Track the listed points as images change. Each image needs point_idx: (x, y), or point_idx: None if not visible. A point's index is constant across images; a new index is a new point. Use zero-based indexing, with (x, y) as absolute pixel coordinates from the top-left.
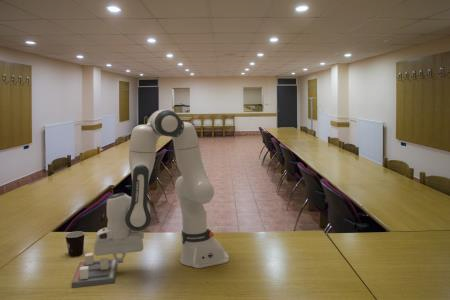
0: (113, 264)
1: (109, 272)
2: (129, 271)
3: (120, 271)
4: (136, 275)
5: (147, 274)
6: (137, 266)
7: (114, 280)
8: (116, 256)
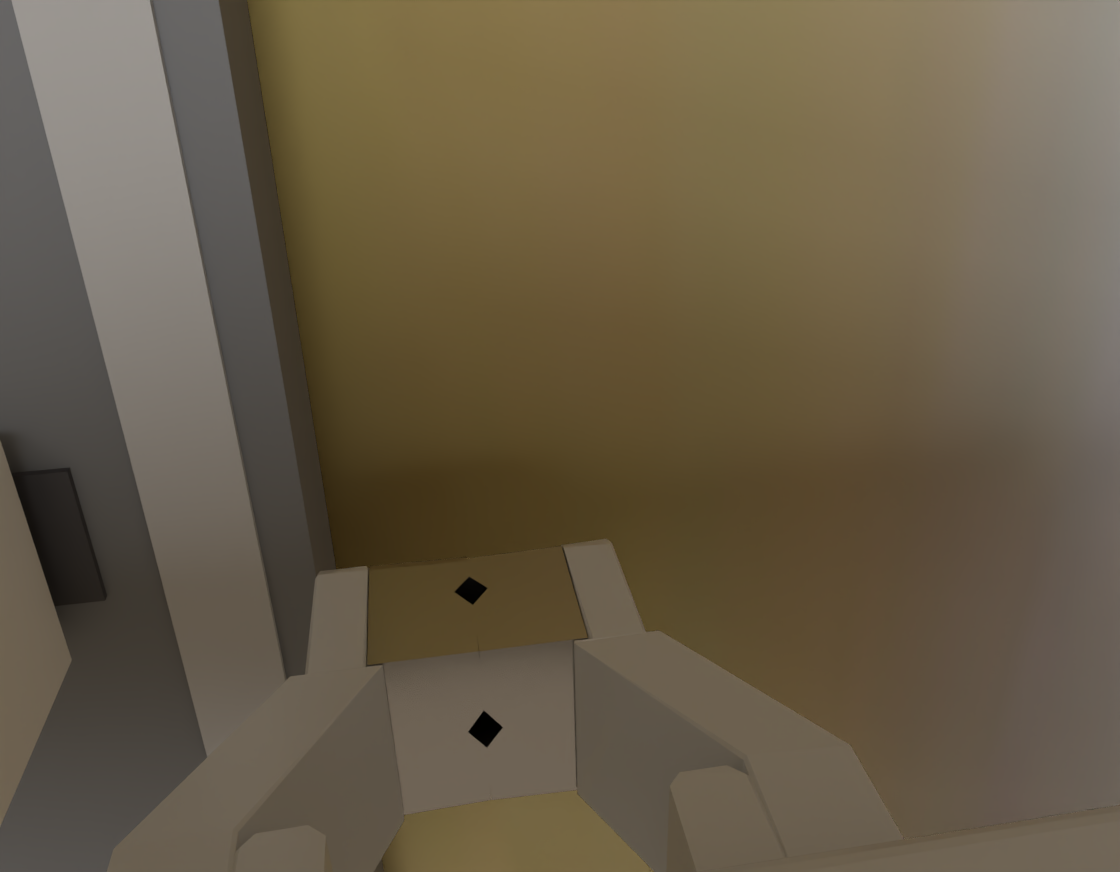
0: (137, 231)
1: (181, 773)
2: (706, 432)
3: (446, 394)
4: (860, 653)
5: (1094, 631)
6: (960, 123)
7: (380, 866)
8: (323, 798)
